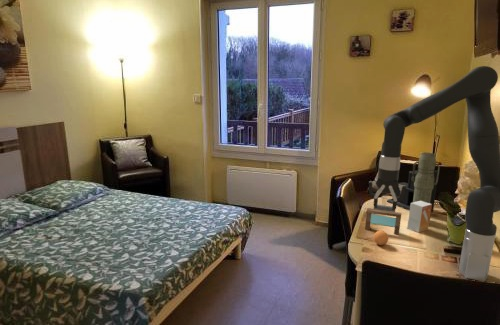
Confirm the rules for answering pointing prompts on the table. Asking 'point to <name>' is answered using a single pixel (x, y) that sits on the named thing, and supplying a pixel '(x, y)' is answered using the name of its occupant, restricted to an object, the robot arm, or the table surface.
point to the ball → (380, 237)
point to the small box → (419, 216)
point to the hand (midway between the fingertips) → (384, 208)
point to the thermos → (424, 177)
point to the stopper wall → (384, 208)
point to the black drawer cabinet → (412, 193)
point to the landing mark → (383, 220)
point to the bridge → (383, 212)
